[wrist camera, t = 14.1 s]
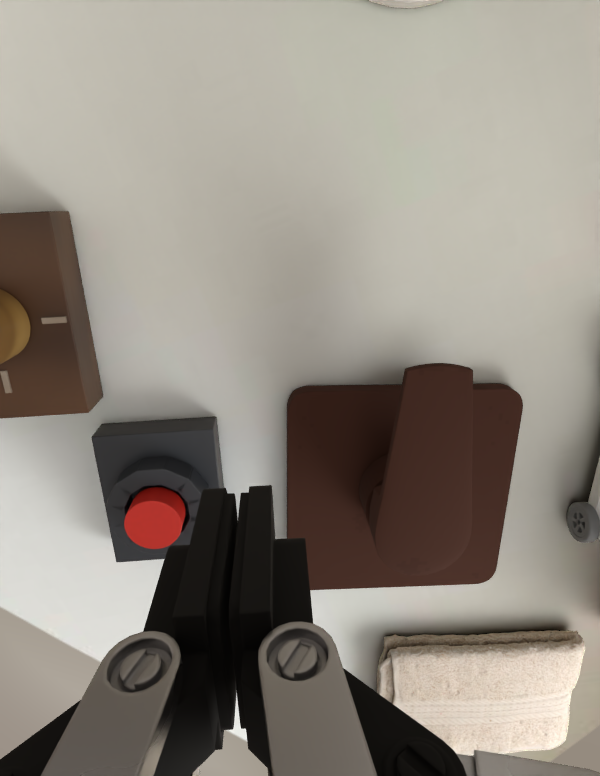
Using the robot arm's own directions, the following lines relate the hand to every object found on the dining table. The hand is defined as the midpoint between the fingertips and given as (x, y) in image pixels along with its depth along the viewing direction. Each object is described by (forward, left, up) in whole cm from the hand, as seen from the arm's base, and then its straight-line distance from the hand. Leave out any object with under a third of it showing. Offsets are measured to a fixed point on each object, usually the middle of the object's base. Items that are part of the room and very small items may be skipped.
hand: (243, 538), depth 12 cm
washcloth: (+33, +17, -23) cm, 43 cm away
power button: (+11, -7, -19) cm, 23 cm away
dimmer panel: (-2, -15, -23) cm, 28 cm away
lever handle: (+11, +10, -23) cm, 27 cm away
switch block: (+11, -7, -23) cm, 26 cm away
